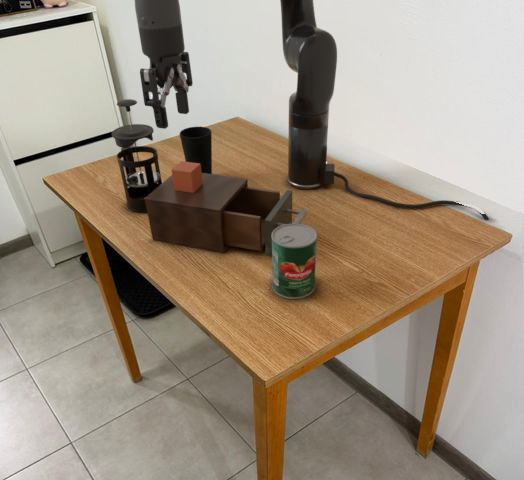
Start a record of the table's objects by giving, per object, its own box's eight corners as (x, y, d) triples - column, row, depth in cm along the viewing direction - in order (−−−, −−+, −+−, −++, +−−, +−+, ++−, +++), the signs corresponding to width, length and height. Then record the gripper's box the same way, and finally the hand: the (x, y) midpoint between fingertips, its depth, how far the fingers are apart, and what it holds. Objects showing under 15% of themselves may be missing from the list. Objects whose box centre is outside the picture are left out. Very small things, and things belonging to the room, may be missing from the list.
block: (202, 184, 105) (200, 163, 102) (193, 193, 102) (190, 172, 99) (184, 181, 107) (181, 160, 104) (174, 190, 104) (171, 169, 101)
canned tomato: (294, 269, 98) (295, 218, 91) (323, 287, 94) (326, 234, 86) (263, 286, 95) (261, 234, 87) (292, 305, 90) (293, 252, 83)
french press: (175, 205, 119) (159, 101, 104) (140, 218, 115) (117, 112, 100) (150, 188, 126) (132, 89, 111) (116, 200, 122) (92, 99, 106)
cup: (214, 186, 126) (209, 137, 118) (184, 187, 126) (177, 138, 118) (217, 173, 132) (212, 126, 124) (188, 174, 132) (181, 126, 124)
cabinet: (249, 219, 113) (247, 178, 107) (223, 253, 103) (219, 210, 97) (183, 209, 118) (178, 169, 111) (152, 240, 108) (144, 198, 101)
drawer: (310, 227, 108) (311, 193, 103) (291, 259, 99) (291, 224, 94) (226, 214, 114) (224, 180, 108) (201, 243, 105) (196, 209, 99)
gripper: (158, 32, 81) (173, 135, 92) (197, 15, 90) (206, 110, 101) (118, 29, 83) (137, 131, 94) (161, 13, 92) (174, 107, 104)
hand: (173, 120), depth 98 cm, fingers open, 8 cm apart
